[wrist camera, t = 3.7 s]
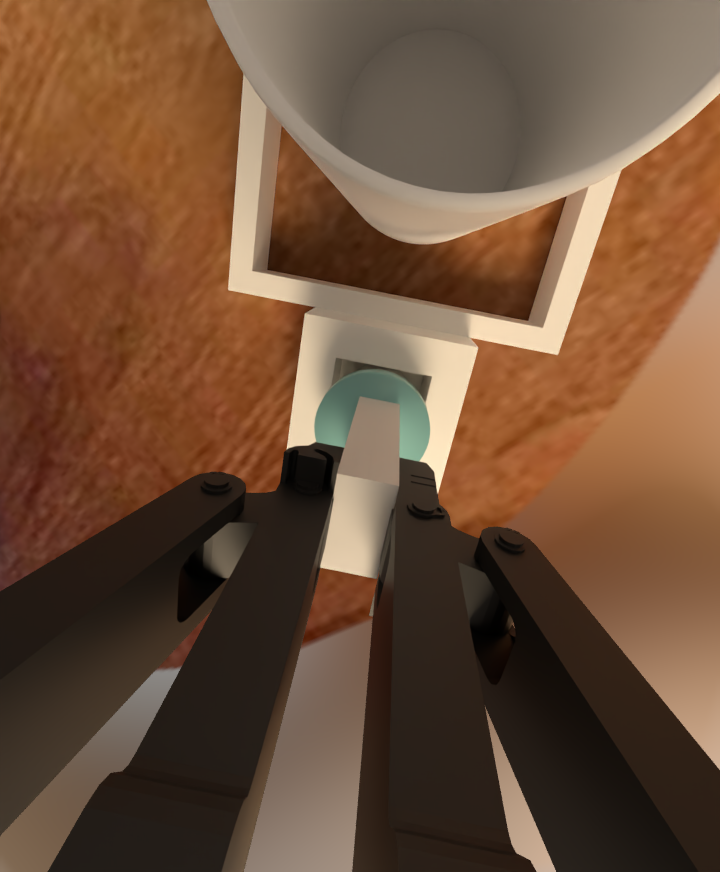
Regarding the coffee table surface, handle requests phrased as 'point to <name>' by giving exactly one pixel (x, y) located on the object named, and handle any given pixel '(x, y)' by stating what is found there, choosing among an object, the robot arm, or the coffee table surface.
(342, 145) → the cup
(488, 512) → the coffee table surface
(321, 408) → the mint mushroom button
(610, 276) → the coffee table surface
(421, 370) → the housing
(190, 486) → the robot arm
